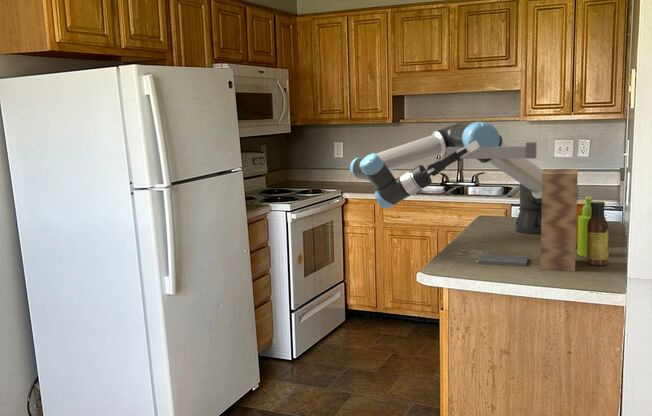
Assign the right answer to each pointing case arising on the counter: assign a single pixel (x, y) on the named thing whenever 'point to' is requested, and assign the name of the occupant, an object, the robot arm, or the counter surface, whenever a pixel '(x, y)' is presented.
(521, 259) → the base plate
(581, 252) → the soap dispenser
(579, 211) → the baking soda box
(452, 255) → the counter surface
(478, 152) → the pin
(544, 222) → the brown wooden block
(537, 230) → the robot arm
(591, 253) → the sauce bottle
